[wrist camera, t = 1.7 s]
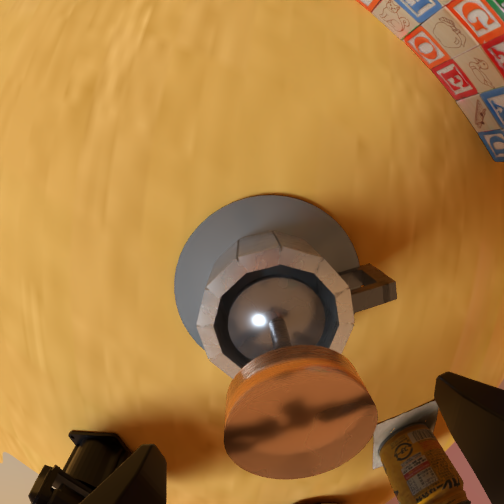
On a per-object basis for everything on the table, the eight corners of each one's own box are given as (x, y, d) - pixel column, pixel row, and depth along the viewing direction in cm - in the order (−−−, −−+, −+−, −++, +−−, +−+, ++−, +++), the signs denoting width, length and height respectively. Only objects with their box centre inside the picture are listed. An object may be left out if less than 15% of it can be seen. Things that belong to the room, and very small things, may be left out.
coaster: (207, 382, 21) (207, 385, 20) (152, 223, 18) (150, 224, 18) (366, 343, 20) (368, 345, 20) (341, 175, 18) (343, 175, 17)
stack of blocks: (516, 122, 17) (617, 116, 5) (493, 163, 17) (612, 171, 5) (349, -57, 13) (397, -143, 1) (304, -34, 14) (342, -146, 2)
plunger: (242, 367, 16) (242, 491, 8) (216, 287, 14) (191, 397, 7) (328, 346, 15) (381, 457, 8) (313, 263, 14) (383, 350, 6)
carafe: (227, 356, 20) (224, 399, 15) (193, 250, 18) (177, 272, 13) (371, 318, 19) (400, 351, 15) (356, 209, 18) (389, 218, 13)
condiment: (372, 468, 24) (404, 549, 13) (372, 424, 22) (419, 524, 11) (429, 444, 24) (471, 514, 12) (439, 396, 22) (500, 476, 11)
